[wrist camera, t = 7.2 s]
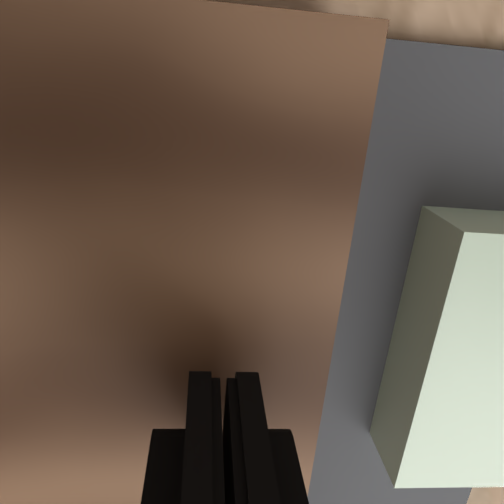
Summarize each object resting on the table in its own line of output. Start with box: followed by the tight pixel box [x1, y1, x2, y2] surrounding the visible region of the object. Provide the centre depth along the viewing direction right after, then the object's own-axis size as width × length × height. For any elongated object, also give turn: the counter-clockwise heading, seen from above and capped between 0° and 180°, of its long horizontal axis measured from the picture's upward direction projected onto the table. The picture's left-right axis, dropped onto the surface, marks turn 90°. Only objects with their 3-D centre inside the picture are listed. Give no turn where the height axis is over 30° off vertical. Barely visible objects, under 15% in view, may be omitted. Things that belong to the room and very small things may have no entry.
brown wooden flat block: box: [0, 0, 389, 504], centre depth 13 cm, size 18×12×4 cm, turn 175°
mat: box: [308, 39, 504, 504], centre depth 16 cm, size 18×8×1 cm, turn 175°
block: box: [369, 206, 504, 488], centre depth 15 cm, size 9×6×2 cm, turn 175°
